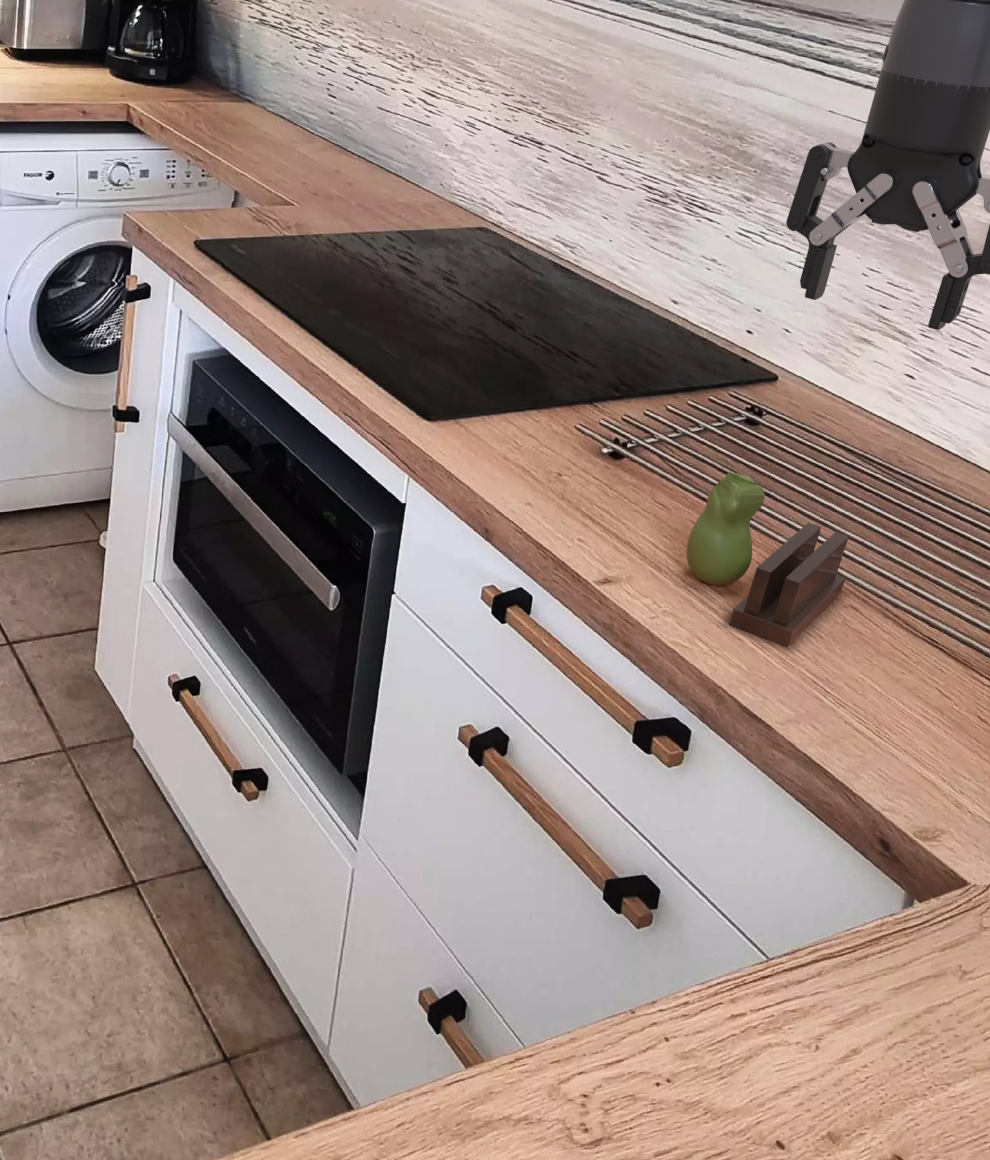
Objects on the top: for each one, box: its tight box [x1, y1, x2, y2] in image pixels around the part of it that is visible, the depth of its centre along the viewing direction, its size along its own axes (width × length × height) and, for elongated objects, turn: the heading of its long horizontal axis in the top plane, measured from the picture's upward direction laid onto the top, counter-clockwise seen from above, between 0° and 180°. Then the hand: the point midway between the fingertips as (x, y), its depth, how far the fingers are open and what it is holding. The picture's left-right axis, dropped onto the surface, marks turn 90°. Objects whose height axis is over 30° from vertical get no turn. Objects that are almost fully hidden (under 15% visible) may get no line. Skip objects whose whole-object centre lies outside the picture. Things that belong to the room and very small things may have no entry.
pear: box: [686, 471, 766, 586], centre depth 131 cm, size 6×5×10 cm
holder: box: [728, 522, 849, 648], centre depth 129 cm, size 5×14×6 cm, turn 143°
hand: (873, 311), depth 107 cm, fingers open, 8 cm apart
